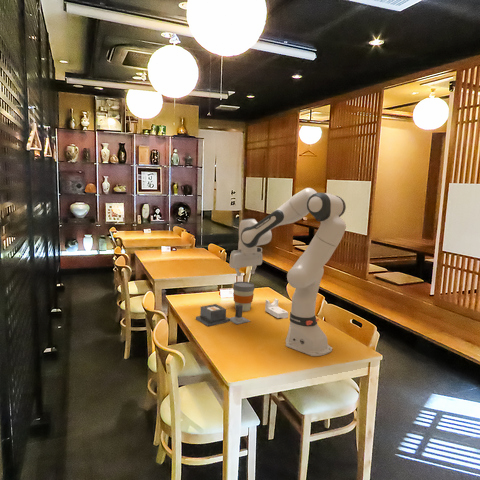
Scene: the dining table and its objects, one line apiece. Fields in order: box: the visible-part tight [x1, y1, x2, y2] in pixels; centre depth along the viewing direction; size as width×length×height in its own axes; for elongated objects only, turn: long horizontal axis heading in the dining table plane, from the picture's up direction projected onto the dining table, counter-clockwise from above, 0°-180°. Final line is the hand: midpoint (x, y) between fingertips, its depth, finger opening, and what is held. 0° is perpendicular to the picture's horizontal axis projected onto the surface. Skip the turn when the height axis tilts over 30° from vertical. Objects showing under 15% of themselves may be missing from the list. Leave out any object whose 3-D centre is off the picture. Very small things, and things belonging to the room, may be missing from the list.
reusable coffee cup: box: [232, 281, 255, 312], centre depth 226 cm, size 13×13×15 cm
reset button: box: [207, 306, 219, 311], centre depth 205 cm, size 6×6×5 cm
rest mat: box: [228, 316, 251, 326], centre depth 208 cm, size 9×9×1 cm
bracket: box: [264, 298, 289, 319], centre depth 219 cm, size 13×7×8 cm, turn 28°
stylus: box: [234, 304, 243, 321], centre depth 207 cm, size 3×3×8 cm
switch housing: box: [195, 303, 231, 328], centre depth 205 cm, size 12×14×7 cm
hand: (245, 274), depth 204 cm, fingers open, 8 cm apart
